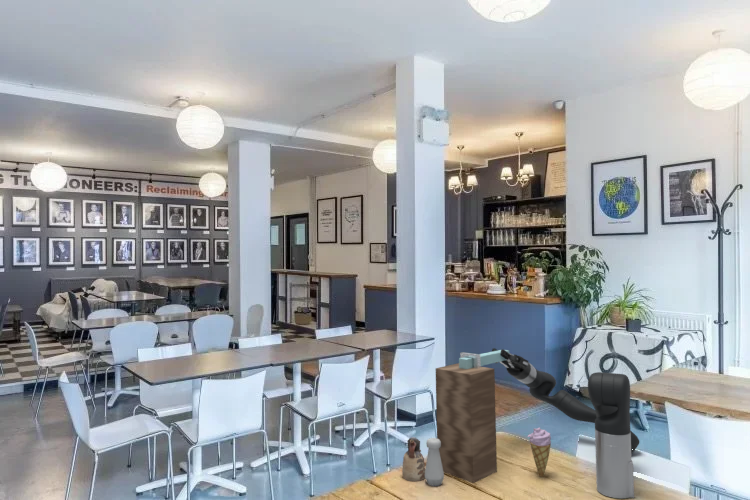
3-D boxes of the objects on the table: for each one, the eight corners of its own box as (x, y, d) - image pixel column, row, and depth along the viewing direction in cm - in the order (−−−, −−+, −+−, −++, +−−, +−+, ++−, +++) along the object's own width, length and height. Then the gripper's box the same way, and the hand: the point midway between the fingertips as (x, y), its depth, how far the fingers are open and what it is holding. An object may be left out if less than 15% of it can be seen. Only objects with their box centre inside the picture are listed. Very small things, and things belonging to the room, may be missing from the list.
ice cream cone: (527, 477, 156) (525, 427, 156) (531, 470, 161) (529, 422, 162) (550, 481, 153) (548, 430, 153) (553, 473, 158) (551, 424, 159)
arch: (480, 368, 163) (480, 354, 163) (477, 368, 162) (477, 355, 162) (463, 365, 168) (463, 352, 168) (460, 366, 167) (460, 352, 167)
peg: (502, 358, 180) (502, 349, 180) (509, 359, 178) (509, 350, 178) (459, 367, 164) (458, 358, 164) (466, 369, 162) (466, 359, 162)
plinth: (496, 471, 161) (494, 368, 162) (473, 482, 153) (470, 374, 154) (461, 459, 171) (459, 363, 172) (437, 469, 163) (435, 368, 164)
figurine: (428, 473, 160) (427, 435, 160) (421, 483, 153) (420, 442, 154) (406, 470, 163) (406, 432, 163) (399, 479, 156) (398, 439, 156)
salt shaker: (443, 488, 149) (442, 443, 150) (423, 486, 151) (422, 442, 151) (444, 479, 155) (443, 436, 156) (425, 478, 156) (425, 435, 157)
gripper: (536, 383, 179) (512, 364, 169) (502, 377, 189) (477, 359, 179) (541, 362, 181) (517, 343, 172) (507, 357, 192) (483, 339, 182)
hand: (497, 351), depth 176 cm, fingers closed on peg, 3 cm apart
